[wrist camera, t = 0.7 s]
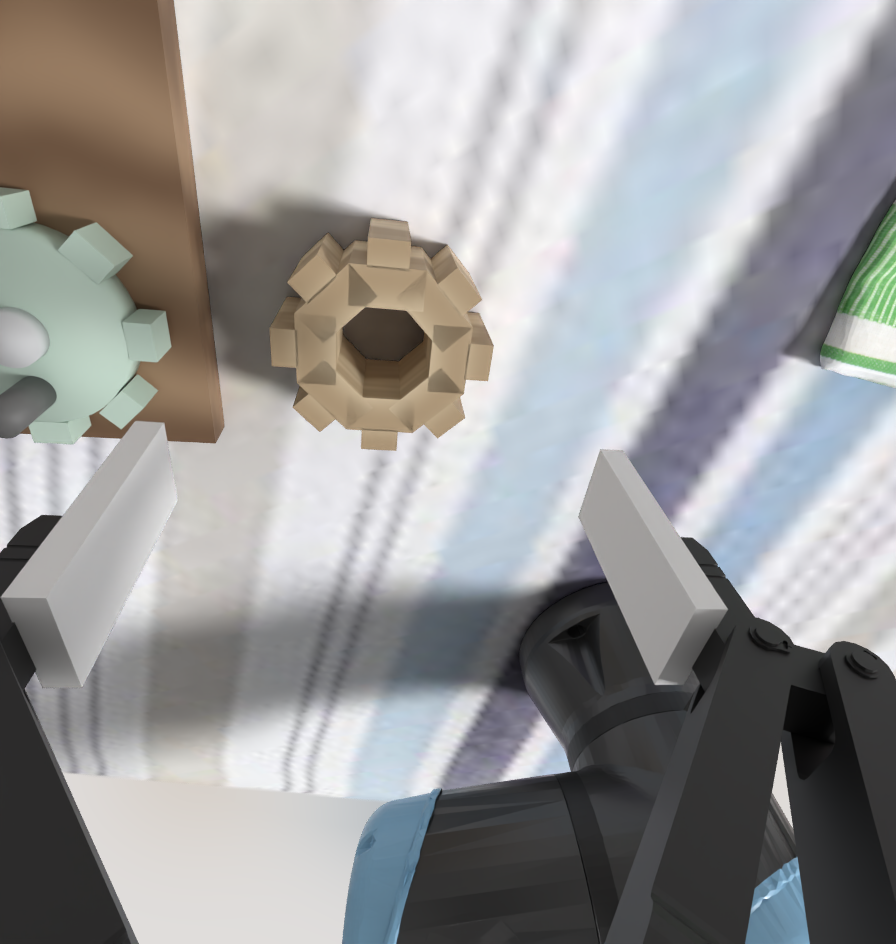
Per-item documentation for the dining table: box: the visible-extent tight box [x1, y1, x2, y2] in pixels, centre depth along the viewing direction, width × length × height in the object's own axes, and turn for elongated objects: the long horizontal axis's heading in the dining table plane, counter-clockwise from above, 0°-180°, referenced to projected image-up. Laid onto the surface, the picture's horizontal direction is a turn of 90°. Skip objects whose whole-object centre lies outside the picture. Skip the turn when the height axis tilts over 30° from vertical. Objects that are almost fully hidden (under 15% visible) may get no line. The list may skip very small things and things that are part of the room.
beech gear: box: [269, 218, 494, 451], centre depth 28 cm, size 10×10×5 cm
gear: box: [0, 187, 171, 444], centre depth 24 cm, size 11×11×5 cm
